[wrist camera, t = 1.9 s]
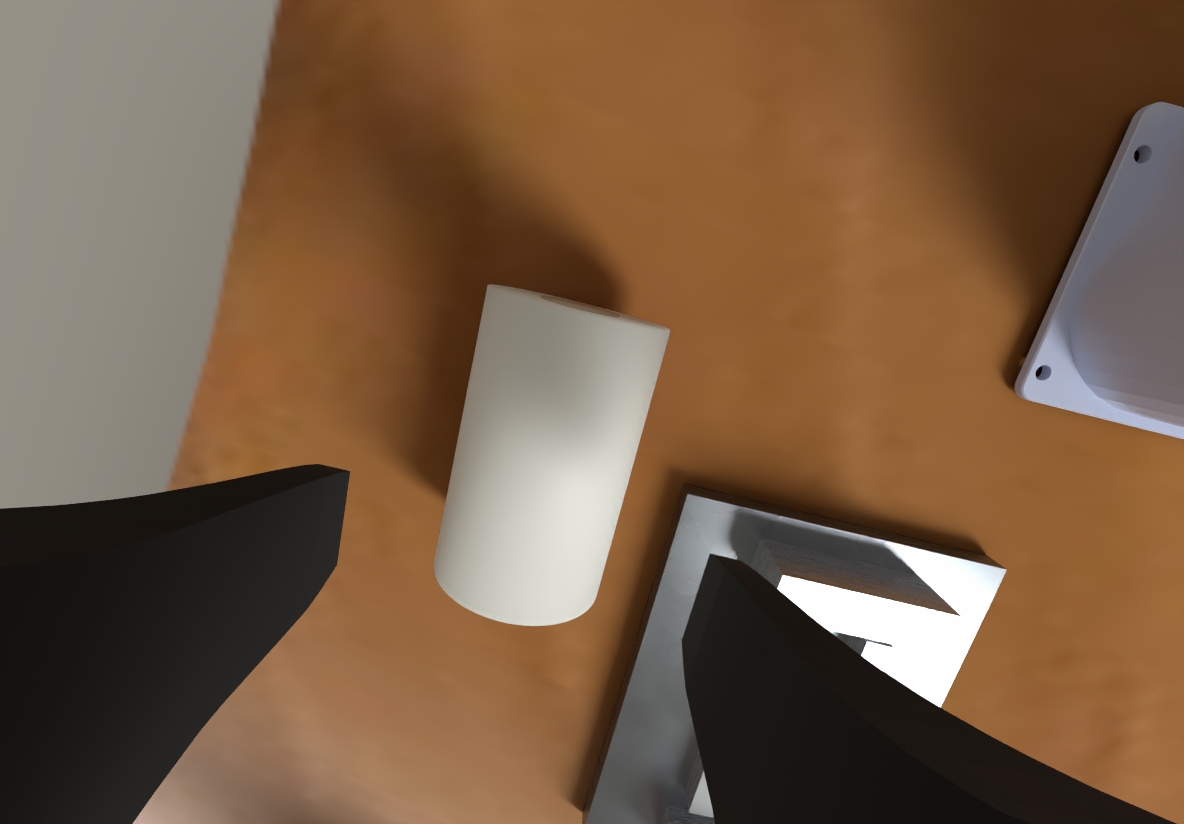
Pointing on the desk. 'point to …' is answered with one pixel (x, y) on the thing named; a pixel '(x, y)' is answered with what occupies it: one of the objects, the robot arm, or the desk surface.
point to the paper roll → (544, 454)
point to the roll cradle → (814, 583)
